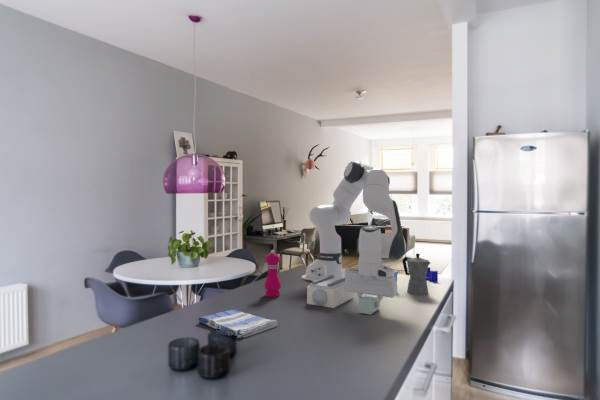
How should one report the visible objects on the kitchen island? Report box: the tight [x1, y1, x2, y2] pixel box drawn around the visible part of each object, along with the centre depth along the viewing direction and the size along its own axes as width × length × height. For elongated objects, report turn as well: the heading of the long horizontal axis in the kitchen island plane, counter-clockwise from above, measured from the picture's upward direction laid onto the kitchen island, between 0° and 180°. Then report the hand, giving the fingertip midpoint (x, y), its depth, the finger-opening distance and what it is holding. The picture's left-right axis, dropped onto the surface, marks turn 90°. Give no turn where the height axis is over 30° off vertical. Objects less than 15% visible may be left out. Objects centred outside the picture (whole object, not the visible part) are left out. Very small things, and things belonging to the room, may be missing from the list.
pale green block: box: [358, 294, 380, 316], centre depth 154 cm, size 4×11×5 cm, turn 148°
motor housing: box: [306, 275, 354, 309], centre depth 170 cm, size 12×22×9 cm, turn 148°
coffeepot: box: [401, 252, 431, 296], centre depth 183 cm, size 15×9×18 cm, turn 33°
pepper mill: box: [264, 249, 282, 298], centre depth 178 cm, size 7×7×20 cm
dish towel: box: [198, 309, 279, 339], centre depth 138 cm, size 17×24×3 cm
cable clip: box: [426, 266, 439, 283], centre depth 210 cm, size 12×4×6 cm, turn 2°
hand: (369, 305), depth 153 cm, fingers closed on pale green block, 4 cm apart
